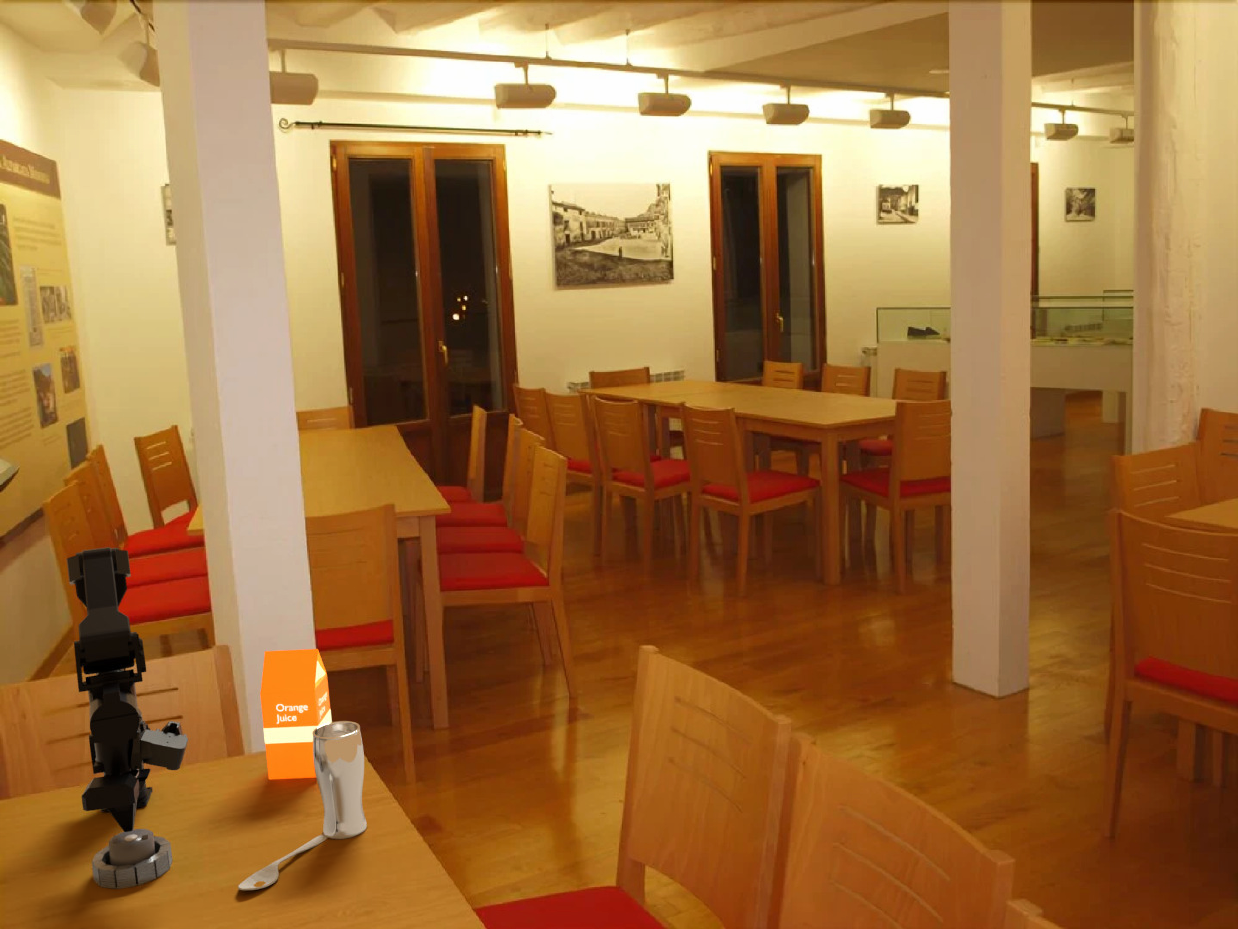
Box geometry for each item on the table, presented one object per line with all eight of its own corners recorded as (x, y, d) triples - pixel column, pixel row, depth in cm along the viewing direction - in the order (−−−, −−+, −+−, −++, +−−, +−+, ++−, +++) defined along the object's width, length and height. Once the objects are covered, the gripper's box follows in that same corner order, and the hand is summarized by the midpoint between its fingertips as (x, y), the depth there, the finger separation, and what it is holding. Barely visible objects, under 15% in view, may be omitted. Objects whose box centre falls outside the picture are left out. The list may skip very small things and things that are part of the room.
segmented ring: (103, 859, 160) (100, 842, 160) (176, 848, 162) (174, 831, 162) (87, 893, 151) (85, 875, 151) (165, 881, 153) (163, 863, 153)
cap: (115, 863, 159) (112, 829, 158) (159, 857, 160) (155, 823, 159) (108, 883, 153) (104, 847, 153) (153, 876, 155) (149, 841, 154)
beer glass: (357, 842, 161) (348, 739, 159) (311, 839, 163) (301, 738, 161) (377, 819, 168) (369, 721, 166) (333, 817, 170) (324, 719, 167)
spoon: (229, 898, 149) (227, 886, 149) (325, 827, 168) (324, 816, 167) (255, 902, 147) (254, 890, 147) (349, 830, 166) (348, 819, 166)
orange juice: (323, 777, 184) (311, 656, 181) (267, 780, 184) (255, 659, 181) (335, 757, 192) (324, 641, 189) (282, 760, 192) (271, 644, 189)
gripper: (169, 737, 146) (182, 853, 149) (189, 689, 164) (200, 793, 167) (74, 749, 144) (89, 866, 146) (105, 699, 162) (118, 805, 164)
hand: (128, 830), depth 156 cm, fingers closed
